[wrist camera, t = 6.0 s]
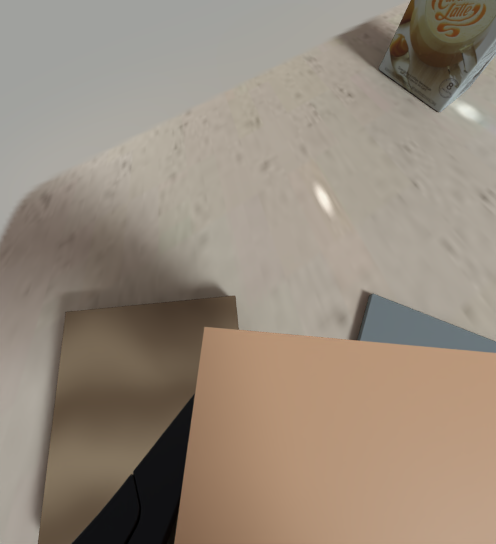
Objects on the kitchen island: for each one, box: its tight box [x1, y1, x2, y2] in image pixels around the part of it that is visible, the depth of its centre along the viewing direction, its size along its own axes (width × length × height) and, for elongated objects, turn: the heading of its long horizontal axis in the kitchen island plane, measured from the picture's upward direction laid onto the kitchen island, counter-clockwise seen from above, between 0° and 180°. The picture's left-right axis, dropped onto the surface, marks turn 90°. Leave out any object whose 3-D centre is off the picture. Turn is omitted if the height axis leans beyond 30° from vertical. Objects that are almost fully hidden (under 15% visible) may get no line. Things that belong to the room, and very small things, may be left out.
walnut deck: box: [38, 296, 239, 544], centre depth 18 cm, size 14×12×2 cm
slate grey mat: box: [357, 294, 496, 353], centre depth 19 cm, size 18×12×1 cm, turn 157°
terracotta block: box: [174, 327, 496, 544], centre depth 8 cm, size 4×4×10 cm
